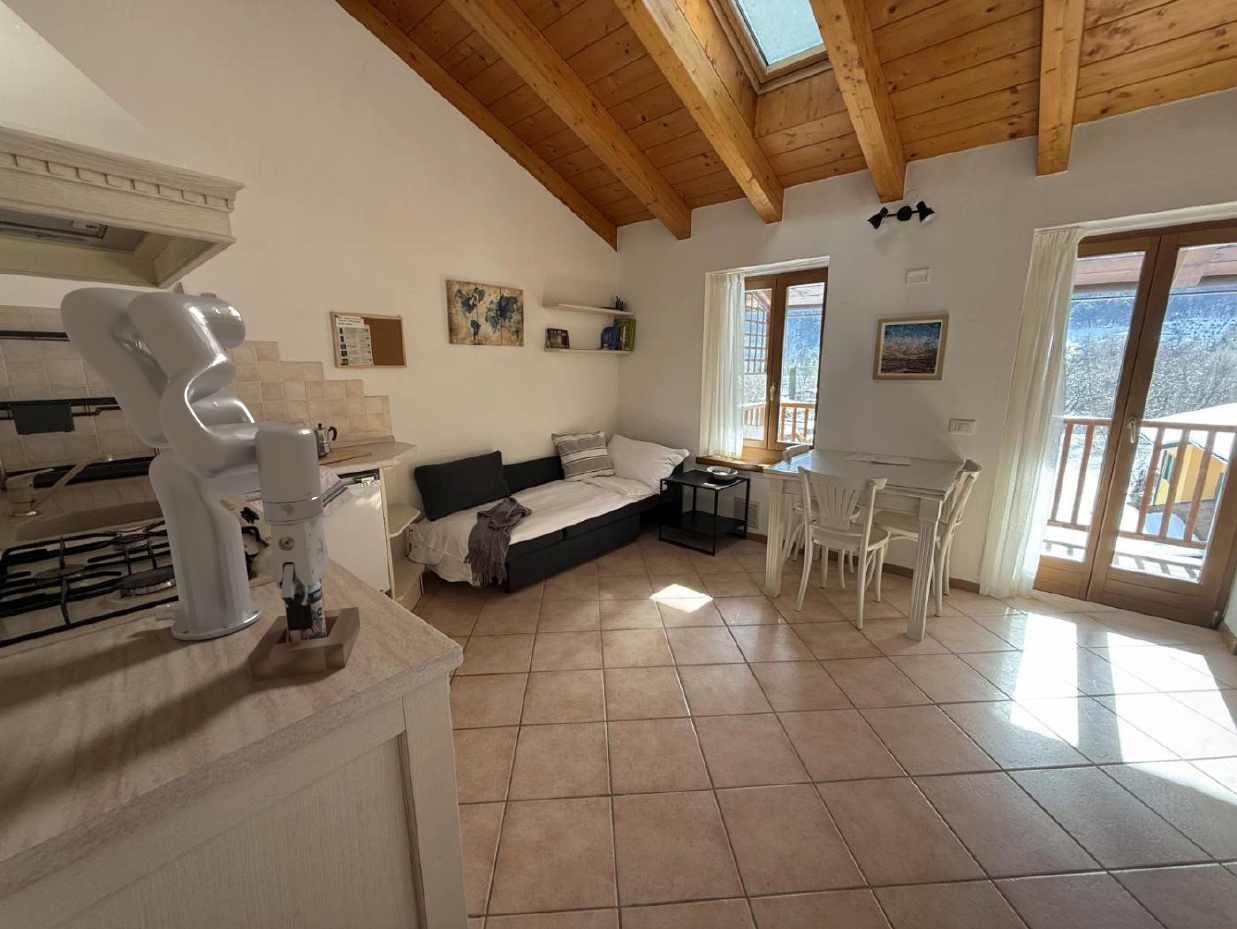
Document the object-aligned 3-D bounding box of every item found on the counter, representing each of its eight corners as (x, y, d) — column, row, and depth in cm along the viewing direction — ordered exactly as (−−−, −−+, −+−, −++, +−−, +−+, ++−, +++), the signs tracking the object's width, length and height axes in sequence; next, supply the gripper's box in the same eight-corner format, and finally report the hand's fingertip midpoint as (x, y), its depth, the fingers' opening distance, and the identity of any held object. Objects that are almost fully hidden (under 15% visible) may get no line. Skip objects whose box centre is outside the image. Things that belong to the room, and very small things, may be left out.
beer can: (311, 663, 76) (302, 590, 73) (285, 659, 76) (276, 587, 74) (335, 646, 80) (327, 577, 78) (310, 642, 81) (302, 575, 79)
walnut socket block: (252, 681, 71) (248, 656, 70) (280, 638, 82) (278, 616, 81) (345, 667, 74) (342, 643, 74) (360, 628, 86) (358, 606, 85)
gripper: (305, 523, 67) (319, 644, 70) (335, 493, 83) (345, 592, 86) (240, 527, 65) (258, 652, 68) (284, 495, 81) (296, 598, 84)
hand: (306, 618), depth 77 cm, fingers open, 5 cm apart
